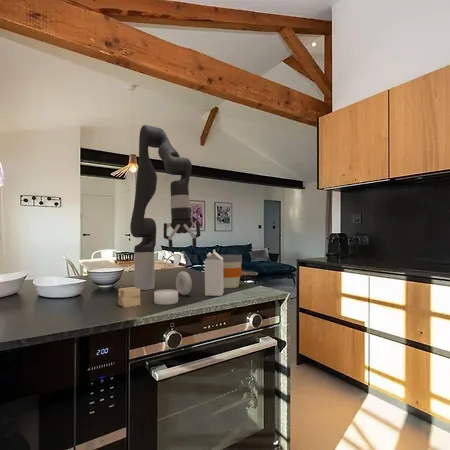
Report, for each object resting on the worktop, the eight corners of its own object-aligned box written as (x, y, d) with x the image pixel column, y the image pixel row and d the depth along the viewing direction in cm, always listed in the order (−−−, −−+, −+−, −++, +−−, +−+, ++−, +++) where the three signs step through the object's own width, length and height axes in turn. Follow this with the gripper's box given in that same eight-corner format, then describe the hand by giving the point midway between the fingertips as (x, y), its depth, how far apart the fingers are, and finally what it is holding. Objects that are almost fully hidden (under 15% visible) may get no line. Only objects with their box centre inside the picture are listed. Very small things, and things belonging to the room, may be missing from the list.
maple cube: (118, 304, 126) (118, 288, 126) (134, 302, 130) (134, 287, 130) (124, 307, 122) (124, 291, 122) (140, 305, 125) (140, 289, 125)
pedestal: (150, 301, 131) (150, 291, 131) (171, 298, 136) (171, 288, 136) (160, 305, 124) (160, 294, 124) (182, 302, 129) (182, 291, 129)
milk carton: (223, 292, 148) (223, 249, 148) (221, 296, 141) (221, 250, 141) (207, 292, 148) (207, 249, 149) (204, 296, 141) (204, 250, 142)
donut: (193, 296, 141) (193, 272, 141) (186, 297, 139) (186, 272, 139) (181, 292, 149) (180, 269, 149) (174, 293, 147) (173, 270, 147)
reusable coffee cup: (214, 288, 159) (214, 256, 159) (219, 284, 171) (218, 254, 172) (240, 289, 157) (240, 256, 157) (243, 284, 169) (243, 254, 170)
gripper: (197, 208, 138) (199, 247, 137) (162, 209, 136) (164, 250, 135) (199, 205, 131) (202, 247, 130) (162, 207, 128) (164, 250, 127)
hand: (182, 248), depth 132 cm, fingers open, 8 cm apart
